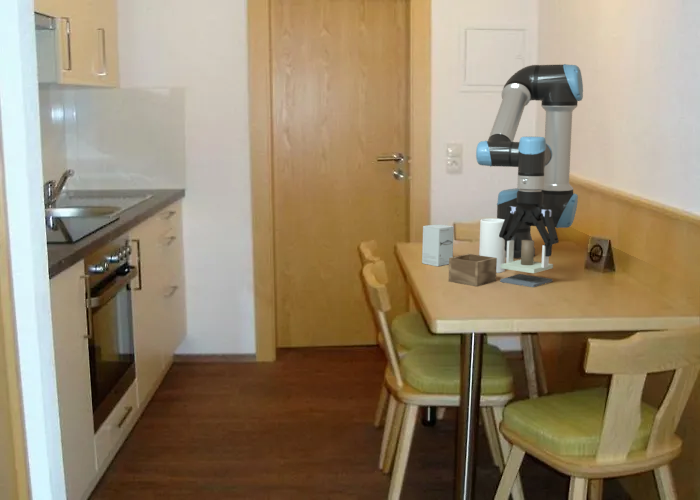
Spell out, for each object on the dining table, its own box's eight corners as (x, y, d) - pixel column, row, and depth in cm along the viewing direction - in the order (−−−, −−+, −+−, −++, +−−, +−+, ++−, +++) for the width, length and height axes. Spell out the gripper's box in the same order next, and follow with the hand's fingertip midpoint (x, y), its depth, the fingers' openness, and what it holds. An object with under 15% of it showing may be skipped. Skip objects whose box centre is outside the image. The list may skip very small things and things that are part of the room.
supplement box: (438, 266, 268) (439, 228, 265) (421, 263, 273) (422, 225, 271) (453, 264, 272) (454, 226, 270) (436, 260, 278) (437, 223, 276)
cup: (504, 273, 258) (506, 222, 255) (478, 272, 259) (479, 221, 256) (505, 268, 266) (507, 218, 263) (479, 267, 267) (481, 217, 264)
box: (467, 276, 252) (468, 253, 251) (495, 281, 246) (496, 257, 245) (448, 281, 245) (449, 258, 244) (477, 286, 239) (477, 262, 237)
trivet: (519, 276, 253) (519, 273, 253) (552, 281, 246) (552, 278, 246) (500, 281, 245) (500, 279, 245) (533, 287, 238) (533, 284, 238)
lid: (520, 263, 252) (521, 236, 251) (552, 268, 245) (554, 240, 244) (500, 268, 244) (501, 240, 243) (533, 273, 237) (535, 244, 235)
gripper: (488, 188, 246) (486, 261, 249) (560, 194, 230) (556, 271, 234) (502, 186, 251) (499, 258, 255) (573, 192, 236) (569, 268, 239)
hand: (527, 264), depth 244 cm, fingers closed on lid, 11 cm apart
